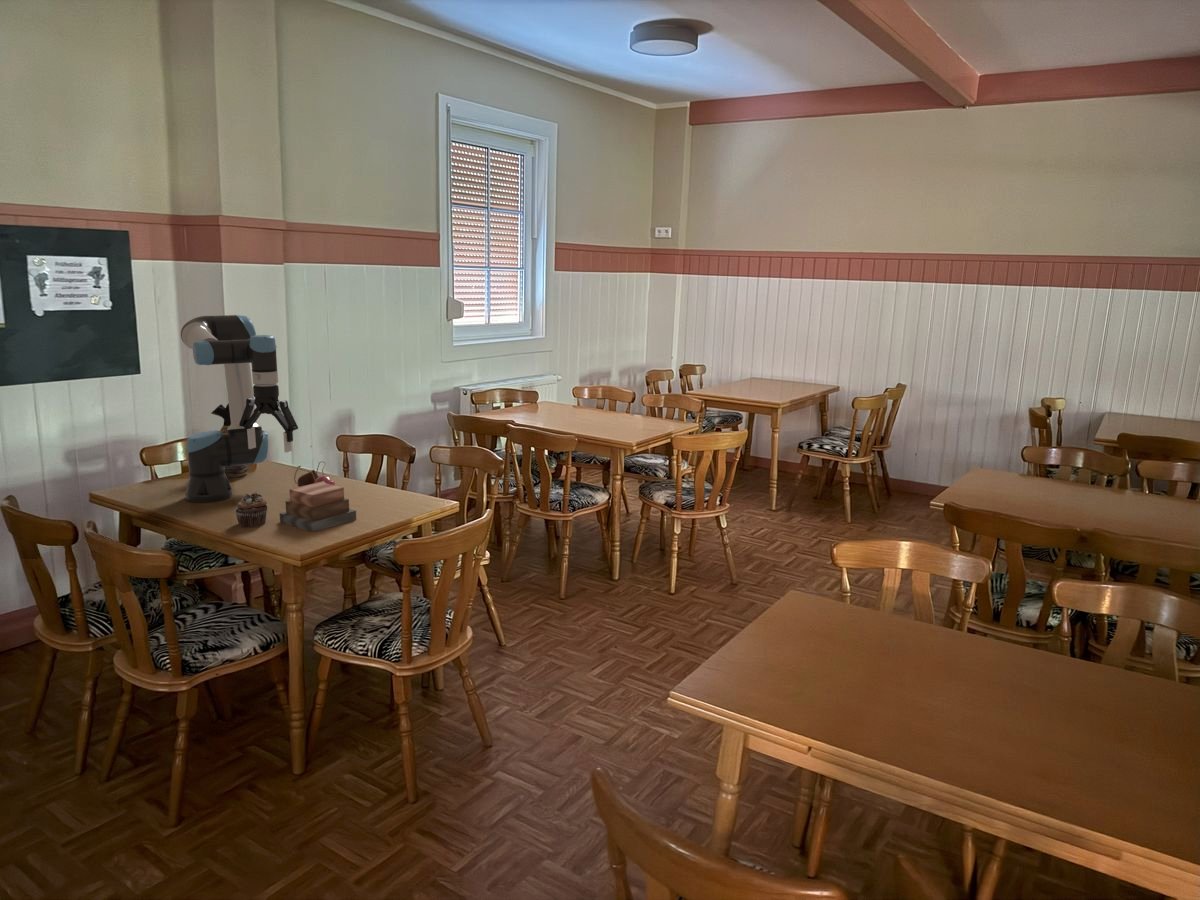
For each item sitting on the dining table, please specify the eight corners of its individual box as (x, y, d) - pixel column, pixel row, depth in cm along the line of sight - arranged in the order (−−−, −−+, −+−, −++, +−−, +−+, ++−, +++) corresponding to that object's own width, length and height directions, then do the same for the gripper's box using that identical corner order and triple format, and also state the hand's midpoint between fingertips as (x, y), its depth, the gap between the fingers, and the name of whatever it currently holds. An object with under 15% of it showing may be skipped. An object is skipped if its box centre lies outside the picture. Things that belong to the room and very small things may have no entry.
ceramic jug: (208, 480, 319) (201, 404, 312) (217, 471, 333) (211, 397, 327) (254, 479, 322) (248, 403, 316) (262, 469, 337) (256, 397, 330)
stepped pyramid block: (280, 522, 269) (277, 489, 267) (323, 510, 283) (322, 479, 280) (312, 532, 260) (310, 498, 257) (356, 519, 273) (354, 487, 271)
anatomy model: (323, 496, 287) (303, 456, 291) (306, 517, 296) (287, 479, 300) (351, 489, 296) (331, 451, 300) (334, 510, 305) (314, 473, 309)
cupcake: (256, 517, 273) (254, 488, 271) (274, 523, 268) (272, 493, 266) (229, 524, 266) (227, 494, 264) (247, 530, 260) (245, 499, 258)
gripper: (224, 383, 261) (229, 449, 265) (292, 388, 254) (296, 455, 259) (240, 380, 268) (245, 444, 273) (306, 385, 261) (310, 450, 266)
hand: (270, 449), depth 266 cm, fingers open, 13 cm apart
